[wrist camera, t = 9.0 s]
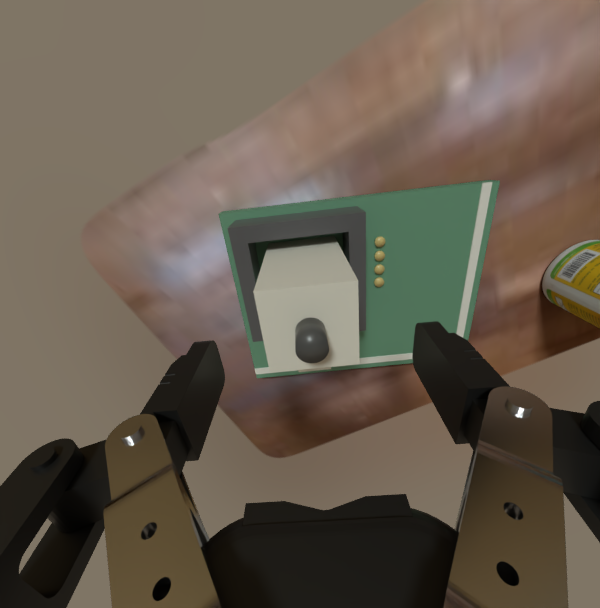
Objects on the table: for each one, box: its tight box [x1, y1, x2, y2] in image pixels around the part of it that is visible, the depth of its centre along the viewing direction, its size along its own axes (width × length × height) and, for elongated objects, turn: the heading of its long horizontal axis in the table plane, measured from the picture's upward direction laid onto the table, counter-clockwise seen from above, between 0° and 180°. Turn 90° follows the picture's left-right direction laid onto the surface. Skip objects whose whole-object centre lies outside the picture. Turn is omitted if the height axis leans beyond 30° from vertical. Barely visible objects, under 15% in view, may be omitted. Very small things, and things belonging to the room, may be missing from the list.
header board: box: [219, 180, 500, 378], centre depth 21 cm, size 18×14×1 cm
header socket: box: [227, 206, 385, 342], centre depth 19 cm, size 10×9×2 cm
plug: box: [253, 236, 360, 373], centre depth 16 cm, size 4×6×10 cm
